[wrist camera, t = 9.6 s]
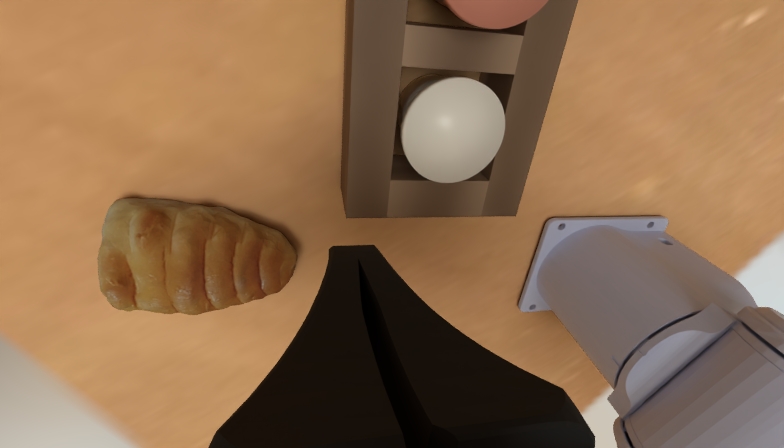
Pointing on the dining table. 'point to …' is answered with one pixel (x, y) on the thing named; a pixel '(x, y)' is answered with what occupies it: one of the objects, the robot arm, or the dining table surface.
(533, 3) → the red plug
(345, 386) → the robot arm
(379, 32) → the plug block
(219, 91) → the dining table surface
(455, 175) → the cream plug
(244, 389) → the dining table surface
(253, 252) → the pastry
